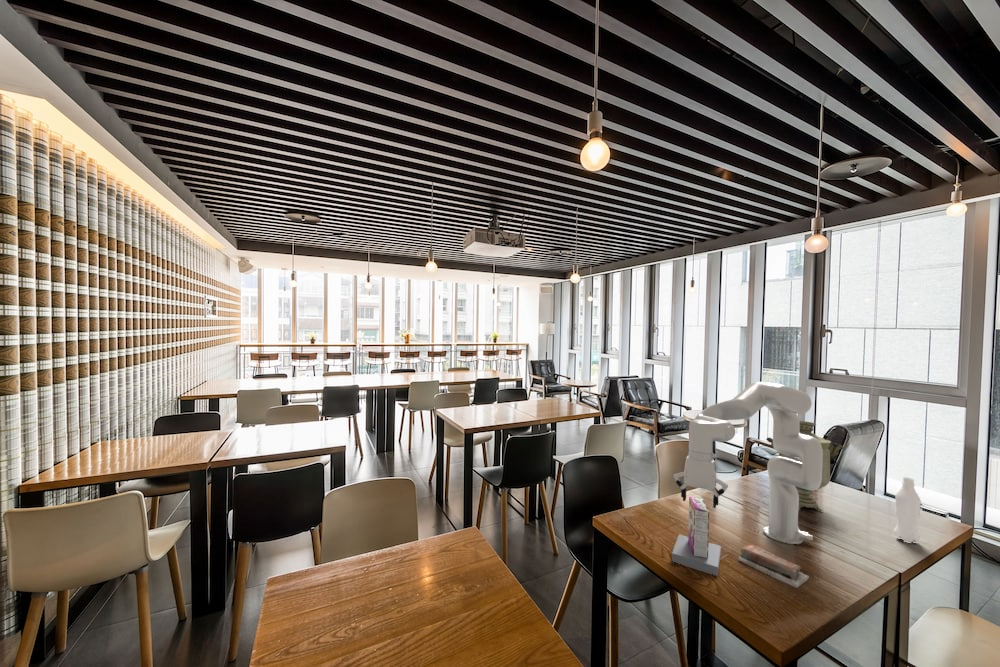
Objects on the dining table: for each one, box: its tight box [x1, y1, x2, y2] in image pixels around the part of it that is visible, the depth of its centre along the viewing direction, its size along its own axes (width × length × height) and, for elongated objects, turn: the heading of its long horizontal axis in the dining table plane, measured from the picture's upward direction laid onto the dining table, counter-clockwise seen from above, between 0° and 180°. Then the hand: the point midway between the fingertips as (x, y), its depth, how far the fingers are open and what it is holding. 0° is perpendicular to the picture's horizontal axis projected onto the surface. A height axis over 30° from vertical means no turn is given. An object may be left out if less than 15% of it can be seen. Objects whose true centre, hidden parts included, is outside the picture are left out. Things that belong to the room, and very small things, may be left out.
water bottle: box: [893, 476, 922, 543], centre depth 157 cm, size 7×7×25 cm
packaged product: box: [737, 544, 810, 589], centre depth 134 cm, size 18×5×10 cm
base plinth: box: [671, 533, 722, 577], centre depth 139 cm, size 14×16×3 cm
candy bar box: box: [687, 496, 710, 558], centre depth 139 cm, size 11×5×16 cm, turn 163°
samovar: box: [765, 420, 845, 512], centre depth 185 cm, size 30×26×40 cm
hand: (699, 503), depth 139 cm, fingers open, 9 cm apart
